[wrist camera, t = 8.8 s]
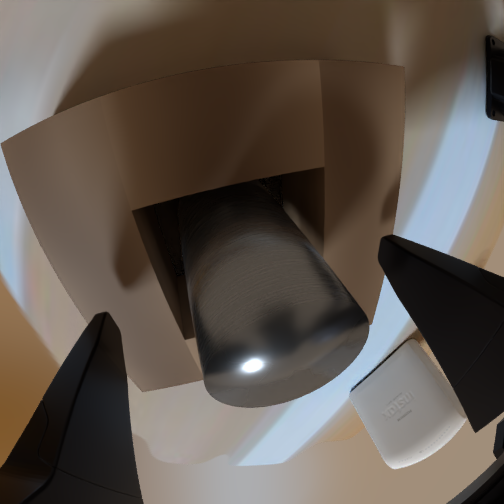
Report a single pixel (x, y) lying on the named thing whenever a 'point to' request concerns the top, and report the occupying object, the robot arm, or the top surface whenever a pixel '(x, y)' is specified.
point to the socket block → (209, 185)
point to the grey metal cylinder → (262, 299)
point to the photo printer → (408, 407)
